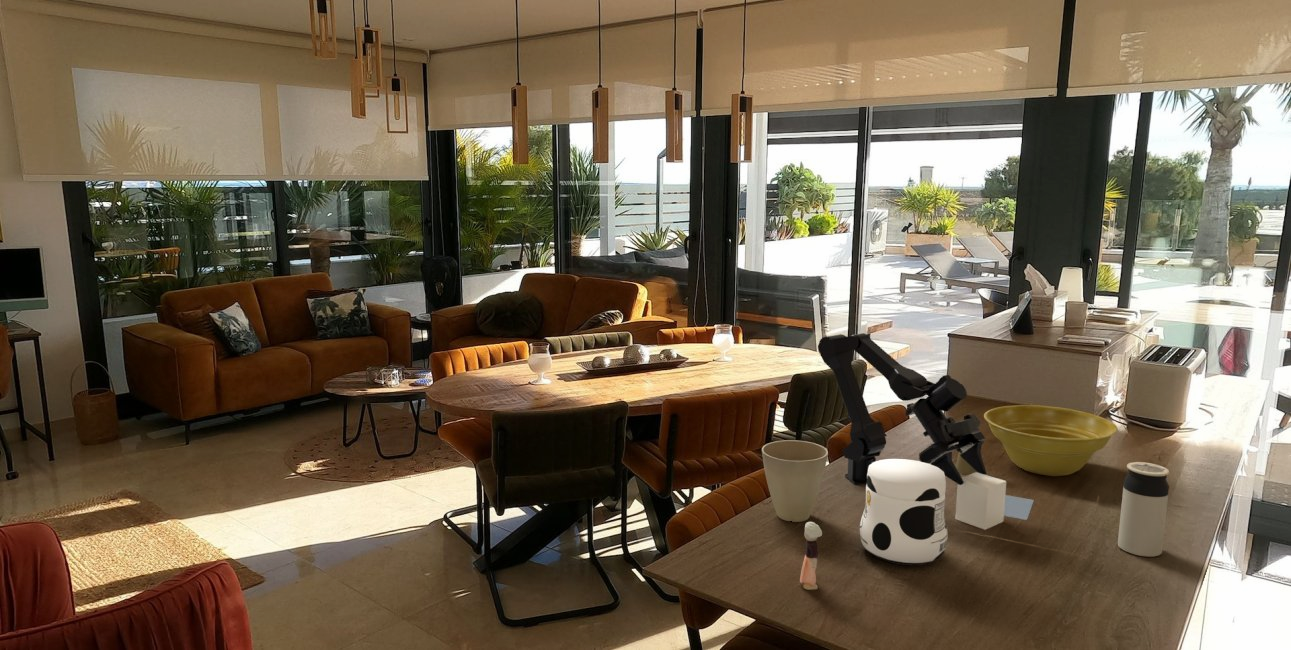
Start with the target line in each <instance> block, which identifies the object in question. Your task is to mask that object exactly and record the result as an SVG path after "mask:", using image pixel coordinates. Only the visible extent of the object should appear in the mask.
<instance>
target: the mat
mask: <svg viewBox="0 0 1291 650" xmlns="http://www.w3.org/2000/svg"><path fill="white" fill-rule="evenodd" d="M1034 502H1035V500H1034V499H1031V498H1024V497H1019V496H1014V495H1010V494H1009V495H1008V494H1005V506H1004V517H1008V518H1014V519H1019V520H1024V521H1028V518H1029V515H1030V512H1031V509H1032V507H1033V504H1034Z"/></svg>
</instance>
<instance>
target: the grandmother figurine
mask: <svg viewBox="0 0 1291 650" xmlns="http://www.w3.org/2000/svg"><path fill="white" fill-rule="evenodd" d="M822 535H823V531H822V529H821V528H820V526H819V525H818V524H816V523H815V522H814V521H808V522H806V523H805V525H804V538H805V539H806V540H805V544H804V546H805V555H804V559H803V562H802V566H801V570H800V578H799V582H800V584H803V585H802V587H803V589H805V590H811V591H812V590H813V591H814V590H818V588H819V586H818V584H817V576H816V569H817V566H818V565H817V564H818V556H819V548H818V544H817V543H818V542H817V539H818V537H819V538H820V537H821V536H822Z"/></svg>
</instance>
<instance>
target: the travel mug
mask: <svg viewBox="0 0 1291 650" xmlns="http://www.w3.org/2000/svg"><path fill="white" fill-rule="evenodd" d="M1126 468H1127V471H1128V474H1127V475H1126V476H1125V478H1124V479H1123V487H1122V497H1121V498H1122V500H1121V507H1120V516H1119V518H1120V519H1119V526H1118V527H1119V528H1118V537H1117V538H1118V539H1117V545H1118V548H1120V549H1122V550H1123V551H1125V552H1126V553H1128V554H1130V555H1134V556H1139V557H1143V558H1147V557H1148V558H1153V557H1157V556H1160V555H1162V552H1163V545H1164V535H1165V526H1166V518H1167V517H1166V516H1167V509H1168V500H1169V490H1170V486H1169V483H1168V481H1167V477H1168V475H1169V474H1170V471H1169V469H1168V468H1166V467H1164V466H1161V465H1159V464H1156V463H1150V462H1144V461H1143V462H1142V461H1135V462H1134V461H1132V462H1129V463H1127V465H1126Z"/></svg>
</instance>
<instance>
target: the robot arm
mask: <svg viewBox="0 0 1291 650" xmlns="http://www.w3.org/2000/svg"><path fill="white" fill-rule="evenodd" d="M817 349H818V353H819V355H820V357H821V359H822V361H823V363H824V364H825V365H826V366H828V368H829V369H831V370H832V372H833V374H834V377H835V380H836V384H837V386H838V389H839V391H840V394H841V397H842V400H843V403H844V406H845V409H846V411H847V414H848V417H849V419H850V423H851V424H850V431H849V437H850V443H849V444H848V445H846V446H845V447H844V448H842V452H843V453H842V454H843V457H844V459H847V473H844V477H845V478H846V479H847V480H849V481H851V483H852V484H854V485H862V484H867V473H868V467H869V465H870V464H872V463H873V462H876V461H877V458H876V457H880V456H881V453H882V451H884V449H885V448H886V447H885V446H886V444H887V439H886V437H887V436H888V435H887V434H886V432H885V431H884V427H883V424H882V422H881V421H880V420H879V421H875V420H874V419H873V418H872V417H871V416H870V413H869V410H868V407H867V405H866V402H865V399H864V397H863V394H862V390H861V388H860V385H859V382H858V380H857V376H856V375H855V374H856V373H855V372H854V369H853V365H852V362H853V356H854V352H853V351H855V352H856V353H857V354H858V356H859V355H860V357H862V358H863V359H864V360H865V361H866V362H867V363H869V365H870V366H872V367H873V368H874V369H875V370H876V371H877V372H878V373H880V374H881V376H883V377H884V378H885V379H886V380H887V382H888V385H889V387H890V389H891V391H892V392H893V394H895V396H896V397H897V398H898V399H899V400H900V401H902V402H903V401H904V402H908V401H913V400H917V399H918V400H917V401H916V402H915V403H914V402H911V403H907V405H906V410H905V416H906V417H908V416H911V415H915V417H916V418H917V420H918V421H919V423H920V424H921V426H922V427H923V429H924V430H925V431H924V432H923V433H922V434H923V437H925V438H926V437H929V438H930V440H931V441H932V442H933V443H931V444H930V445H929V446H927V447H926V448H925V449H923V450H922V451H920V452H919V454H918V461H920V462H924V463H928V464H931V465H933V466H936V467H938V468H939V469H941V470H942V471H943V472H944V474H945V477H947V478H948V479H950V480H951V481H952V482H954V483H956V485H957V484H959V485H962V484H963V483H964V482H963V480H962V477H963V476H962V475H961V474H960V473H959V472H958V470H957V469H956V464H954V462H953V452H954V451H957V452H958V453H959V452H960V453H962V454H961V455H960V456H961V457H962V458H963V459H964V460H965V461H966V462H967V463H968V464H969V465H970V466H971V467H973V468H974V469H975V470H976V471H977V472H978V473H981V474H984V475H988V474H987V469H986V468H985V463H984V460H983V457H982V452H981V450H982V446H983V445H984V443H985V442H984V440H986V437H985V435H984V434H983V433H982V431H980V429H979V426H980V425H981V420H980V419H979V418H978V417H977V416H976V415H975V413H969V414H965V415H964V416H963V419H962V420H957V421H956V420H955V419H954V418H952V417H947V415H946V414H945V413H944V412H949V411H950V410H951V409H953V408H954V407H956V406H957V405H958V404H959V403H961V402H962V401H963V400H965V399H966V398H967V395H968V392H967V389H966V388H965V386H964V385H963V384H962V383H960V382H959V381H958V380H956V379H955V378H952V377H951V376H950V375H949V374H945V375H942V376H941V377H940V378H939V379H938V380H937V381H936V382H935V383H934V382H933V381H930V380H927V378H926V377H925V376H924V375H922V374H921V373H919V372H917V371H916V370H914V369H913V368H912V369H911V368H908V367H907V366H906V367H905V366H903V365H902V364H901V363H899V362H898V361H897V360H896V359H895V358H893V357H892V356H891V355H890V354H889V353H888V352H886V350H884V349H883V348H882V347H880V345H878V344H877V343H876V342H874V340H873V339H871V336H870V335H869V334H867V333H861V332H860V333H856V334H851V335H850V336H847V335H845V334H834V335H828V336H823V337H822V338H820V340H819V342H818V344H817ZM925 396H927V397H926V398H924V397H925Z"/></svg>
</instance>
